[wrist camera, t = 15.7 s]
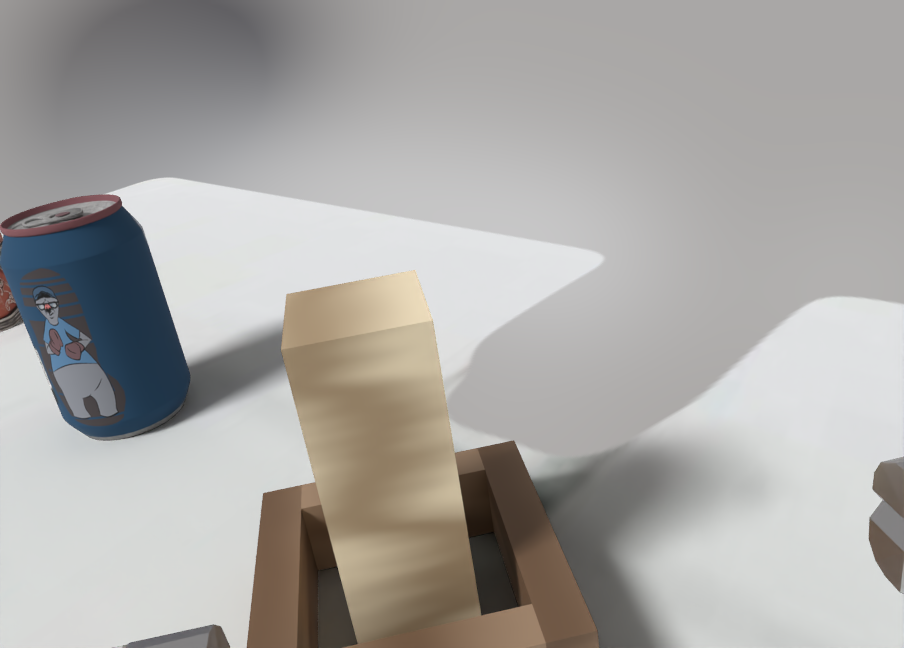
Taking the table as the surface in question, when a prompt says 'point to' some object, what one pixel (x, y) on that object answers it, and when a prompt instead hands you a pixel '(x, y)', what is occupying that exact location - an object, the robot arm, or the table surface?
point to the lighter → (7, 302)
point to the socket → (486, 510)
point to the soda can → (96, 315)
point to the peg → (381, 452)
